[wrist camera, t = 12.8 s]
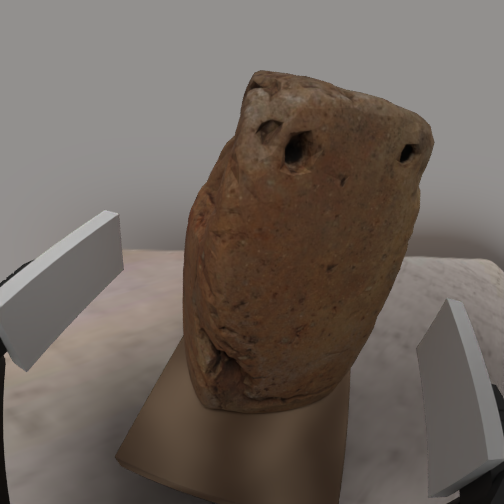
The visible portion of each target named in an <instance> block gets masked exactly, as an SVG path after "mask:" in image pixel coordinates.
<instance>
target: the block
mask: <svg viewBox="0 0 504 504" xmlns="http://www.w3.org/2000/svg"><path fill="white" fill-rule="evenodd" d="M433 146H434V139H433V136H432V131H431V127H430V125H429V124H428V123H427V122H426V121H425V120H424V119H423V118H422V117H421V116H419V115H418V114H417V113H415V112H412V111H409V110H407V109H404V108H402V107H399V106H397V105H394V104H393V103H391V102H389V101H387V100H385V99H383V98H379V97H375V96H372V95H368V94H364V93H361V92H356V91H350V90H345V89H342V88H339V87H337V86H334V85H333V84H331V83H327V82H324V81H321V80H317V79H314V78H310V77H307V76H296V75H293V74H288V73H279V72H270V71H263V70H260V71H258V72H255V73H254V74H253V76H252V78H251V80H250V82H249V84H248V86H247V88H246V91H245V94H244V97H243V101H242V107H241V115H240V119H239V122H238V126H237V129H236V132H235V136H234V137H233V138H232V139H231V140H229V141H228V142H227V143H226V145H225V146H224V148H223V150H222V151H221V153H220V156H219V159H218V161H217V162H216V164H215V166H214V168H213V170H212V172H211V174H210V176H209V178H208V180H207V182H206V183H205V184H204V186H202V188H201V190H200V191H199V193H198V195H197V197H196V200H195V202H194V204H193V206H192V208H191V211H190V215H189V218H188V226H187V231H186V239H185V251H184V268H183V332H184V346H185V354H186V361H187V366H188V371H189V376H190V380H191V382H192V385H193V388H194V390H195V393H196V395H197V397H198V398H199V400H200V402H201V403H202V404H203V405H204V406H205V407H208V408H211V409H224V410H227V411H235V412H241V413H266V412H277V411H286V410H290V409H294V408H298V407H302V406H305V405H308V404H310V403H312V402H315V401H319V400H321V399H322V398H324V397H326V396H328V395H329V394H331V393H332V392H333V391H334V389H335V388H336V387H337V385H338V384H339V383H340V382H341V380H342V379H343V378H344V376H345V375H346V374H347V372H348V371H349V369H350V368H351V367H352V365H353V364H354V362H355V360H356V359H357V357H358V355H359V353H360V351H361V350H362V348H363V346H364V345H365V343H366V341H367V340H368V338H369V336H370V334H371V332H372V330H373V328H374V325H375V322H376V319H377V316H378V314H379V313H380V311H381V310H382V308H383V305H384V303H385V301H386V299H387V297H388V295H389V293H390V291H391V289H392V286H393V284H394V281H395V279H396V276H397V274H398V272H399V270H400V267H401V264H402V261H403V259H404V256H405V253H406V251H407V245H408V240H409V238H410V237H411V235H412V233H413V228H414V224H415V221H416V219H417V216H418V213H419V209H420V189H419V183H420V180H421V177H422V174H423V172H424V170H425V168H426V166H427V164H428V161H429V159H430V156H431V153H432V150H433Z"/></svg>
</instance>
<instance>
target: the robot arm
mask: <svg viewBox="0 0 504 504" xmlns="http://www.w3.org/2000/svg"><path fill="white" fill-rule="evenodd" d="M123 270H124V266H123V256H122V246H121V233H120V219H119V214H118V213H114V212H110V211H106V210H104V211H103V212H102V213H100V214H99V215H97V216H95V217H94V218H92V219H91V220H89V221H88V222H86V223H85V224H83V225H82V226H81V227H79V228H78V229H76V230H75V231H74V232H72V233H70V234H69V235H68V236H66V237H65V238H63V239H62V240H61V241H59V242H58V243H57V244H55V245H54V246H52V247H51V248H50V249H48V250H47V251H46V252H44V253H43V254H42V255H40V256H39V257H38V258H36V259H35V260H32V261H30V262H28V263H26V264H23V265H22V266H21V267H20V268H18V269H17V270H16V271H15V272H14V274H11V275H10V276H8V277H7V279H6V280H3V281H2V282H1V283H0V504H10V501H9V494H8V487H7V479H6V470H5V458H4V442H3V394H4V377H5V365H6V363H5V358H4V356H3V355H4V354H5V353H6V352H8V353H9V355H10V357H11V359H12V361H13V362H14V363H15V364H16V365H18V366H19V367H20V368H22V369H23V370H24V371H26V372H27V371H28V370H29V369H30V368H31V367H32V366H33V365H34V363H35V362H36V361H37V360H38V359H39V358H40V357H41V355H42V354H43V353H44V352H45V351H46V350H47V349H48V348H49V346H50V345H51V344H52V343H53V342H54V341H55V340H56V339H57V338H58V337H59V335H60V334H61V333H62V332H63V331H64V330H65V329H66V328H67V327H68V326H69V325H70V324H71V323H72V321H73V320H74V319H75V318H76V317H77V316H78V315H79V314H80V313H81V312H82V311H83V310H84V309H85V308H86V307H87V306H88V305H89V304H90V303H91V302H92V301H93V300H94V299H95V298H96V297H97V296H98V295H99V294H100V293H101V292H102V291H103V290H104V289H105V288H106V287H107V286H108V285H109V284H110V283H111V282H112V281H113V280H114V279H115V278H116V277H117V276H118V275H119V274H120V273H121V272H122V271H123ZM416 349H417V355H418V362H419V368H420V375H421V383H422V391H423V399H424V409H425V420H426V433H427V450H428V498H433V497H447V496H449V495H451V494H453V493H455V492H456V491H458V490H460V497H458V498H457V499H455V500H453V501H451V502H449V503H447V504H504V399H503V396H502V395H501V393H500V391H499V390H498V388H497V386H496V385H493V384H491V382H490V378H489V375H488V372H487V368H486V365H485V362H484V359H483V356H482V353H481V350H480V347H479V344H478V341H477V338H476V336H475V333H474V330H473V328H472V325H471V322H470V320H469V317H468V315H467V312H466V310H465V307H464V305H463V302H461V301H457V300H453V299H449V298H447V299H446V300H445V302H444V304H443V306H442V308H441V309H440V311H439V313H438V315H437V316H436V318H435V320H434V321H433V323H432V325H431V326H430V328H429V330H428V331H427V333H426V334H425V336H424V338H423V339H422V341H421V342H420V344H419V345H418V347H417V348H416Z"/></svg>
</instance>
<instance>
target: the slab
mask: <svg viewBox="0 0 504 504" xmlns="http://www.w3.org/2000/svg"><path fill="white" fill-rule="evenodd" d="M350 370H351V368H350V369H349V371H348V372H347V374H346V375H345V376H344V378H343V379H342V380H341V382H340V383H339V384H338V385H337V387H336V388H335V389H334V391H333V392H332V393H331V394H329V395H328V396H326V397H324V398H322V399H321V400H319V401H315V402H312V403H310V404H308V405H305V406H302V407H298V408H294V409H290V410H286V411H277V412H266V413H241V412H235V411H227V410H224V409H211V408H208V407H205V406H204V405H203V404H202V403H201V402H200V400H199V398H198V397H197V395H196V393H195V390H194V388H193V385H192V382H191V380H190V376H189V371H188V366H187V361H186V354H185V346H184V335H183V337H182V339H181V341H180V342H179V344H178V346H177V348H176V349H175V351H174V353H173V354H172V356H171V358H170V360H169V361H168V363H167V365H166V367H165V368H164V370H163V372H162V374H161V375H160V377H159V379H158V381H157V382H156V384H155V386H154V388H153V389H152V391H151V393H150V395H149V396H148V398H147V400H146V402H145V404H144V405H143V407H142V409H141V411H140V412H139V414H138V416H137V418H136V419H135V421H134V423H133V425H132V427H131V428H130V430H129V432H128V434H127V436H126V437H125V439H124V441H123V443H122V445H121V446H120V448H119V450H118V452H117V454H116V455H115V458H116V460H117V461H118V462H119V464H120V465H121V466H122V467H124V468H126V469H128V470H130V471H132V472H134V473H136V474H139V475H141V476H143V477H146V478H148V479H150V480H153V481H155V482H157V483H160V484H162V485H165V486H168V487H170V488H173V489H175V490H178V491H181V492H184V493H187V494H189V495H192V496H195V497H198V498H202V499H205V500H208V501H211V502H215V503H218V504H338V503H339V497H340V490H341V482H342V474H343V466H344V457H345V447H346V436H347V424H348V410H349V393H350Z"/></svg>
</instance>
